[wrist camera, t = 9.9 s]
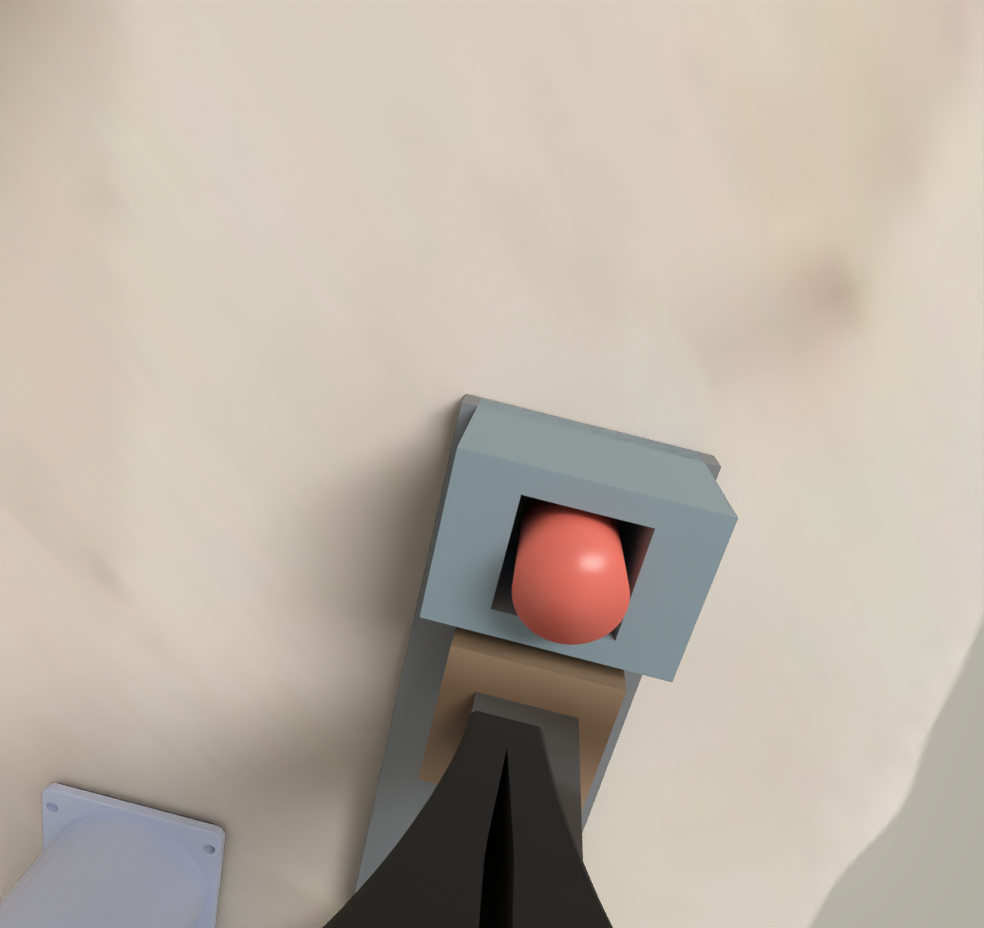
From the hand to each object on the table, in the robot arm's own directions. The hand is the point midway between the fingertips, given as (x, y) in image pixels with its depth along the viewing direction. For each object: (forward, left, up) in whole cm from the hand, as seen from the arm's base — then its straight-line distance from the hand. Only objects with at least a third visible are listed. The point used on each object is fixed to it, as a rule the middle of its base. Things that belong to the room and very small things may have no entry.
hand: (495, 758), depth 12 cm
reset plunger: (+1, -1, -8) cm, 8 cm away
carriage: (-4, -1, -8) cm, 9 cm away
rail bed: (-8, -1, -10) cm, 13 cm away
